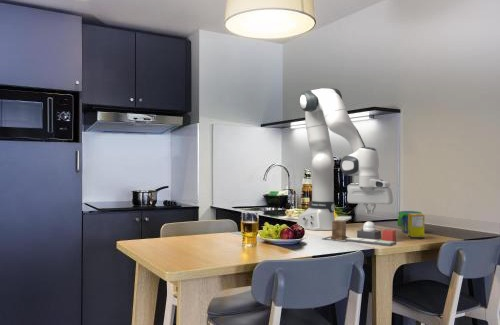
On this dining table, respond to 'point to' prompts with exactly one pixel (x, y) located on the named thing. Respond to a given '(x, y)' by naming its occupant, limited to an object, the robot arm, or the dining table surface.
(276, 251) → the dining table surface
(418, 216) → the supplement box
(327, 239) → the pad
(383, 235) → the red die
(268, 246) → the dining table surface
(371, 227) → the dome button
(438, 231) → the dining table surface
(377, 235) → the dome housing
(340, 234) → the brown wooden block
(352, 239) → the game track
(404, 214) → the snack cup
